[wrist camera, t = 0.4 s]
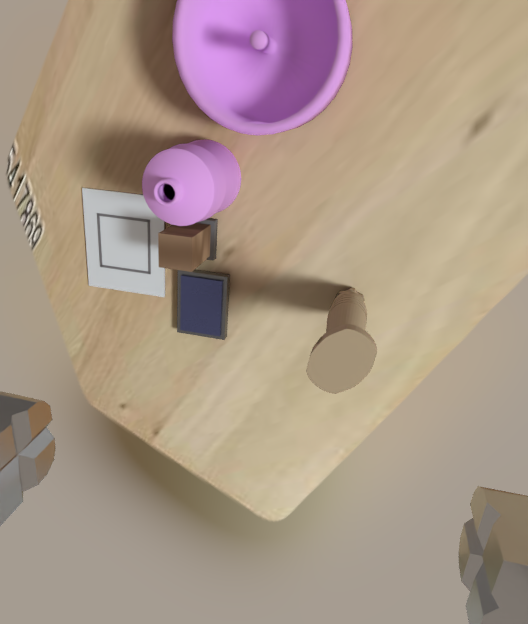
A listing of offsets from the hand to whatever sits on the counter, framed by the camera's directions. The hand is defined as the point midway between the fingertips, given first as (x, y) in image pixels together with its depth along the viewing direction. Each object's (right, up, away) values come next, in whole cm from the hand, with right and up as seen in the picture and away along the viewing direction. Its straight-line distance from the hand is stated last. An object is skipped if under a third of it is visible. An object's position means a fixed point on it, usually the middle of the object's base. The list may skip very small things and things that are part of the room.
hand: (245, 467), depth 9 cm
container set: (-1, +25, +40) cm, 47 cm away
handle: (+10, +4, +46) cm, 47 cm away
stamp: (-7, +12, +47) cm, 49 cm away
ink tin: (-7, +4, +50) cm, 50 cm away
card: (-16, +11, +49) cm, 53 cm away
